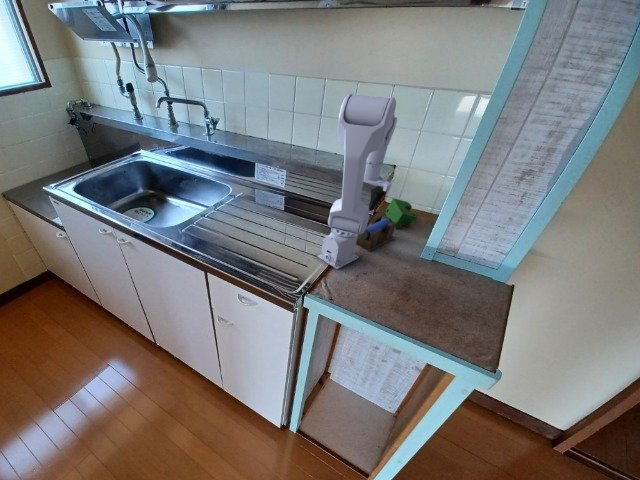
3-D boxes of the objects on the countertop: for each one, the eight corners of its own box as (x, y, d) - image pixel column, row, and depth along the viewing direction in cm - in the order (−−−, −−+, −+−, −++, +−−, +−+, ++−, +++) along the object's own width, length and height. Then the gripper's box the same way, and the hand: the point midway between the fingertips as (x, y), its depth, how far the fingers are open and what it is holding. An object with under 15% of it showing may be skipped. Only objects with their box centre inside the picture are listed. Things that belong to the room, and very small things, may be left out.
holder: (369, 251, 99) (374, 234, 95) (351, 241, 103) (356, 224, 99) (391, 239, 104) (397, 222, 100) (373, 230, 108) (378, 214, 104)
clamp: (401, 238, 112) (419, 222, 104) (386, 234, 111) (402, 218, 103) (400, 210, 117) (417, 193, 108) (385, 206, 116) (401, 189, 108)
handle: (364, 241, 99) (369, 233, 96) (357, 234, 100) (362, 227, 97) (389, 228, 104) (394, 221, 101) (382, 222, 105) (387, 215, 102)
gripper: (403, 165, 89) (389, 210, 99) (361, 150, 98) (351, 193, 107) (387, 171, 86) (374, 217, 96) (345, 156, 95) (337, 199, 104)
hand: (361, 205), depth 101 cm, fingers open, 7 cm apart
